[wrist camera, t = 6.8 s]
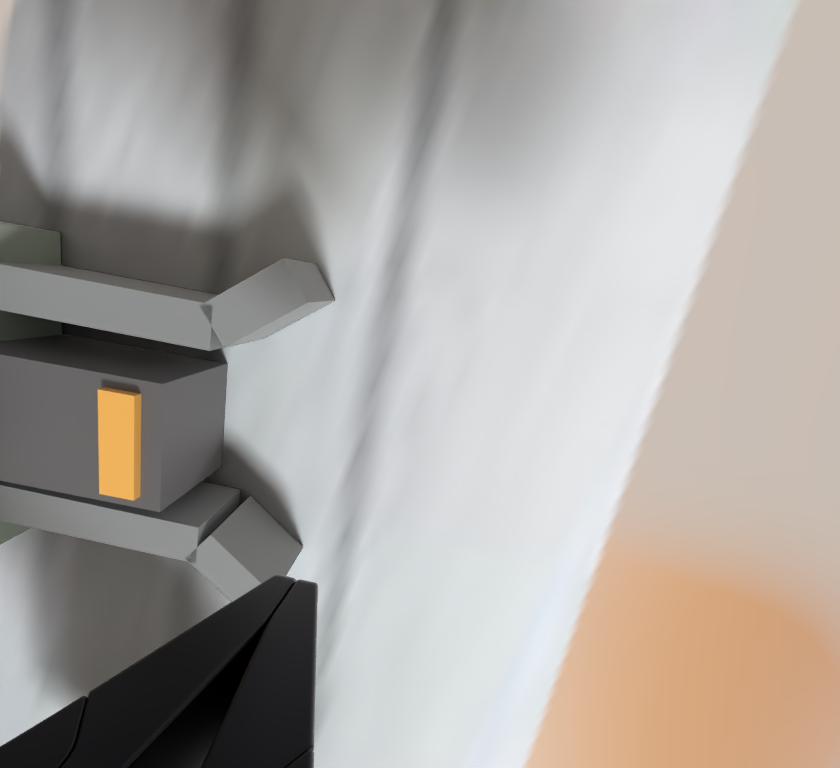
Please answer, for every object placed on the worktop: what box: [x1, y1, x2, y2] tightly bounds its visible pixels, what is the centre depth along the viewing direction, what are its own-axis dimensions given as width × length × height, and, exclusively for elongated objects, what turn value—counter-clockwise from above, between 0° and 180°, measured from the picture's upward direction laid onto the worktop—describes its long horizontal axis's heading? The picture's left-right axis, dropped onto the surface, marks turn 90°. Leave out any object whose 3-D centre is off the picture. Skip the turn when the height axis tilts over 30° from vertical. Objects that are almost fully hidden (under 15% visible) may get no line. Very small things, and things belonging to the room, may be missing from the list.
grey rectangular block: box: [0, 334, 228, 512], centre depth 16 cm, size 4×7×4 cm, turn 81°
